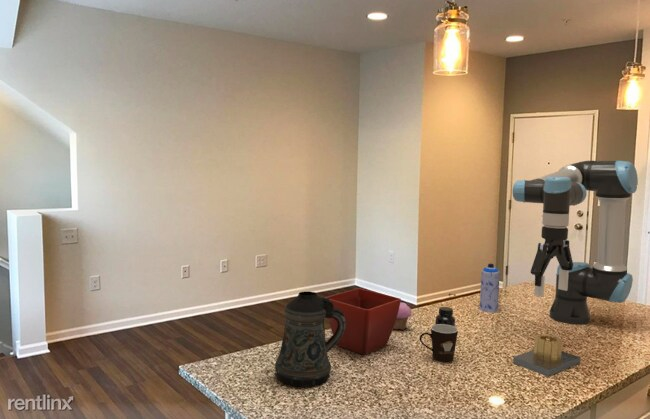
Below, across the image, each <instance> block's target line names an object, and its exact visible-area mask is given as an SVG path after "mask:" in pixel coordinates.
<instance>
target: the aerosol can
mask: <svg viewBox="0 0 650 419" xmlns="http://www.w3.org/2000/svg"><path fill="white" fill-rule="evenodd" d="M500 274H501V273H500V270H499V269H498V268H497V267H495V266H494V263H488V264H487V266H486V267H483V269H482V270H481V273H480V289H479V290H480V294H479V308H478V309H479V310H480V311H481V312H485V313H497V312H498V311H499V294H500V292H499V291H500Z"/></svg>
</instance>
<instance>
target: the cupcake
mask: <svg viewBox="0 0 650 419" xmlns="http://www.w3.org/2000/svg"><path fill="white" fill-rule="evenodd" d="M411 316H412V309H411V307H410V306H409V305H407V303H405V302H400V307H399V311H398V315H397V318H396V322H395V325H394V328H393V329H394V330H403V331H404V330H405V328H406V326H407V323H408V319H409V318H410V317H411Z"/></svg>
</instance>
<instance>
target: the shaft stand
mask: <svg viewBox="0 0 650 419" xmlns="http://www.w3.org/2000/svg"><path fill="white" fill-rule="evenodd" d="M512 363H513V364H514V365H518V366H520V367H522V368H525V369H527V370H528V369H529V370H530V371H533V372H536V373H538V374H541V375H543V376H546V377H551V376H553V375H555V374H558V373H560V372H562V371H563V372H564V371H565V370H567V369H570V368H572V367H575V366H577V365H579V364H581V356H578V355H574V354H573V353H572V354H571V353H570V352H565V351H564V350H562V352H561V361H558V362H547V361H542V360H539V359H537V358H535V357H534V349H532V350H529V351H525V352H524V353H520V354H518V355H515V356H513V362H512Z"/></svg>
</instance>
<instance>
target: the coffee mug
mask: <svg viewBox="0 0 650 419" xmlns="http://www.w3.org/2000/svg"><path fill="white" fill-rule="evenodd" d="M430 332H431V333H430ZM430 332H423V333H421V334H420V335H419V342H420V343H421V344H422V345H423V346H424V347H425V348H427V349H429V351H431V352H432V358H433V360H434V361H436V362H440V363H451V362H454V356H455V352H456V345H457V340H458V334H459V329H458V327H456V326H455V327H454V326H451V325H445V324H437V325H435V324H433V325H431V326H430ZM425 335H427V336H429V337H430V340H431V347H430V346H428V345H427V344H425V343H424V342H423V341H422V338H423V336H425Z"/></svg>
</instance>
